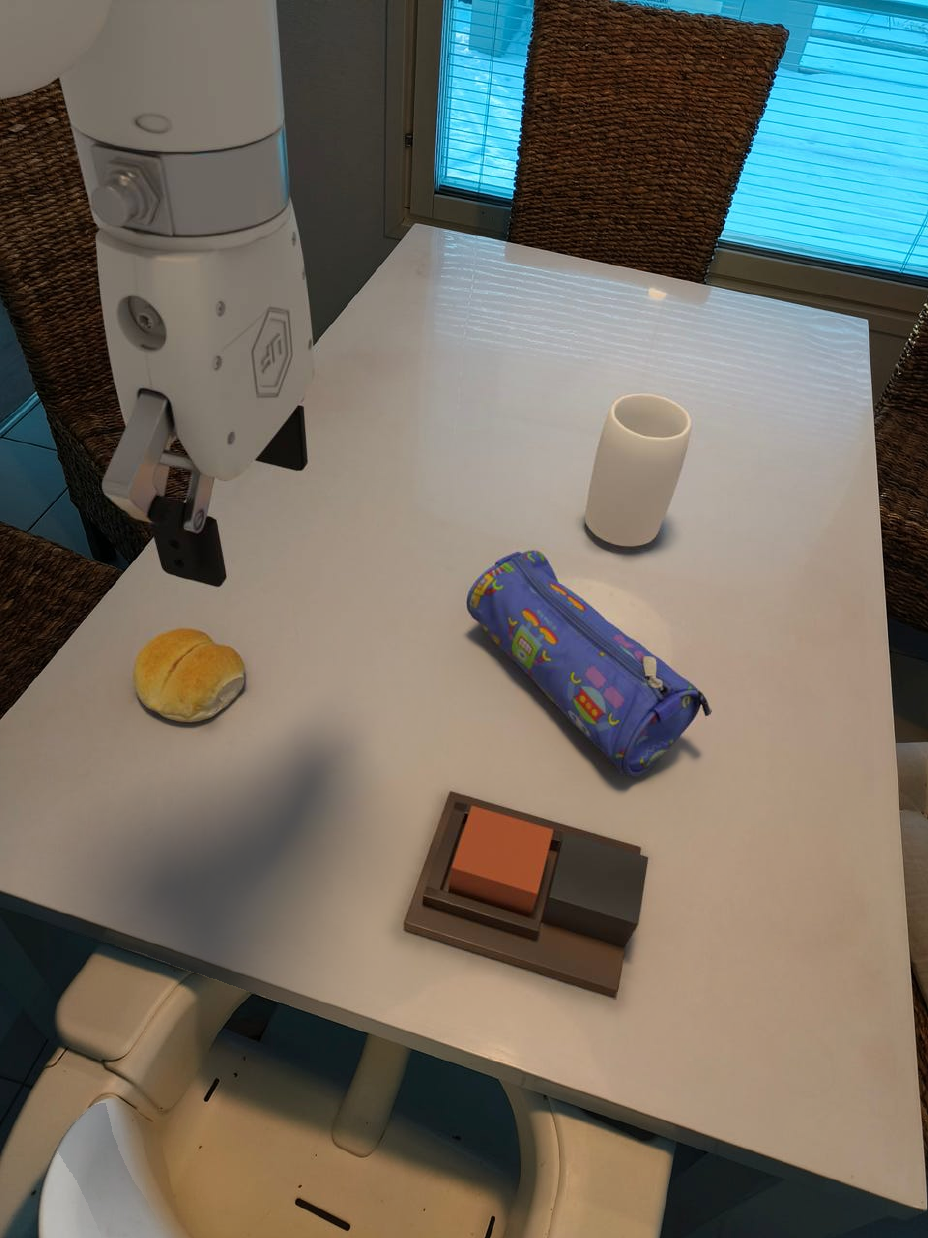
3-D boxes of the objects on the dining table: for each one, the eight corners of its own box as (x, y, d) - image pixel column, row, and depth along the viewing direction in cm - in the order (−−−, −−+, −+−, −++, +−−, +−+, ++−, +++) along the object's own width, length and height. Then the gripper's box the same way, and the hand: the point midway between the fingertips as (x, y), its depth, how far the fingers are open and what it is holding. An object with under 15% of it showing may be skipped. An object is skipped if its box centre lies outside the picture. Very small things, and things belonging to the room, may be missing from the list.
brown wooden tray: (614, 997, 57) (631, 968, 53) (403, 930, 59) (404, 897, 55) (637, 854, 64) (654, 819, 61) (449, 798, 66) (453, 761, 63)
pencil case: (695, 751, 71) (729, 680, 64) (622, 803, 67) (651, 733, 60) (526, 594, 82) (540, 518, 75) (455, 630, 78) (463, 554, 72)
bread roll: (184, 631, 76) (176, 600, 73) (261, 676, 73) (256, 646, 70) (112, 690, 71) (101, 660, 68) (192, 742, 68) (184, 712, 65)
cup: (590, 495, 94) (617, 382, 83) (665, 517, 92) (702, 404, 82) (570, 543, 88) (596, 428, 78) (650, 566, 86) (687, 452, 76)
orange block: (529, 919, 59) (537, 894, 56) (447, 893, 60) (451, 867, 57) (545, 856, 62) (553, 829, 60) (467, 833, 63) (471, 805, 60)
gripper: (159, 288, 26) (230, 652, 39) (362, 119, 37) (366, 441, 50) (-55, 241, 27) (82, 610, 40) (206, 90, 39) (248, 413, 51)
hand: (240, 515), depth 45 cm, fingers open, 9 cm apart
